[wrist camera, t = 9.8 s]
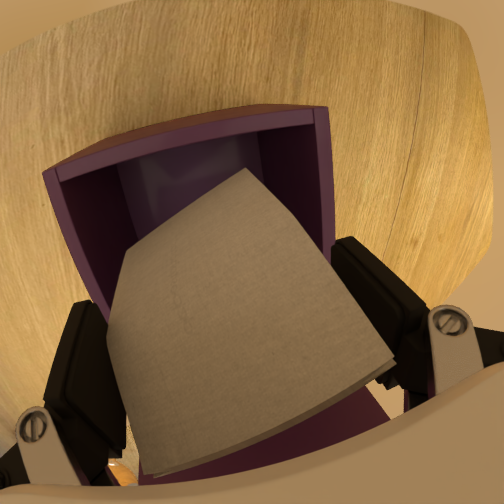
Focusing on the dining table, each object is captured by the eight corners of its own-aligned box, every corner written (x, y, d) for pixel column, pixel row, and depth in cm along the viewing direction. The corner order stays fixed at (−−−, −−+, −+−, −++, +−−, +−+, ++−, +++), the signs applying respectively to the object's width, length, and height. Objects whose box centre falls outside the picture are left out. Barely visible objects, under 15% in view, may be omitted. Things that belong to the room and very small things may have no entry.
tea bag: (126, 250, 13) (90, 452, 5) (245, 167, 13) (378, 307, 4) (173, 300, 15) (191, 489, 7) (283, 229, 15) (404, 389, 6)
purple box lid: (146, 629, 3) (155, 629, 3) (477, 536, 4) (470, 540, 5) (144, 393, 18) (148, 401, 18) (335, 345, 20) (335, 354, 20)
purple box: (103, 139, 22) (41, 172, 11) (259, 103, 24) (328, 106, 13) (150, 290, 30) (146, 392, 19) (279, 259, 31) (333, 345, 20)
